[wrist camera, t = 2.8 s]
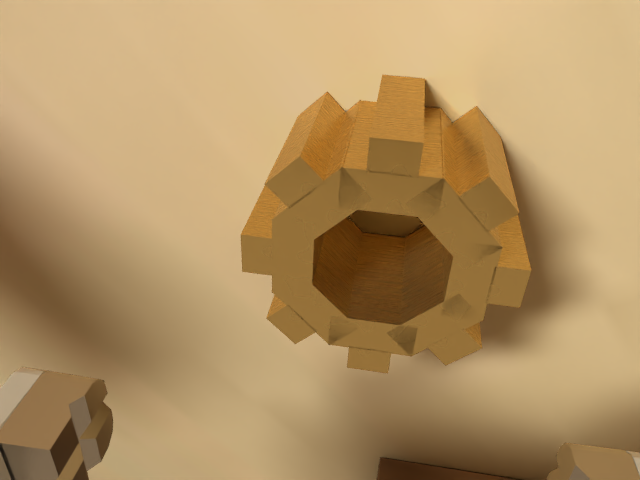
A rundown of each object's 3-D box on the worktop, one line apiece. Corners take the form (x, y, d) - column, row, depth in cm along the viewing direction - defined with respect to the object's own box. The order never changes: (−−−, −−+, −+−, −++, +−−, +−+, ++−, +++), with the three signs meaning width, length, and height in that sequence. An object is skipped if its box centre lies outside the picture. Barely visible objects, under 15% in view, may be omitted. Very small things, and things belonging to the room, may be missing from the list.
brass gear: (536, 88, 15) (566, 157, 11) (483, 293, 18) (494, 389, 15) (277, 65, 15) (236, 123, 12) (277, 266, 19) (245, 352, 16)
